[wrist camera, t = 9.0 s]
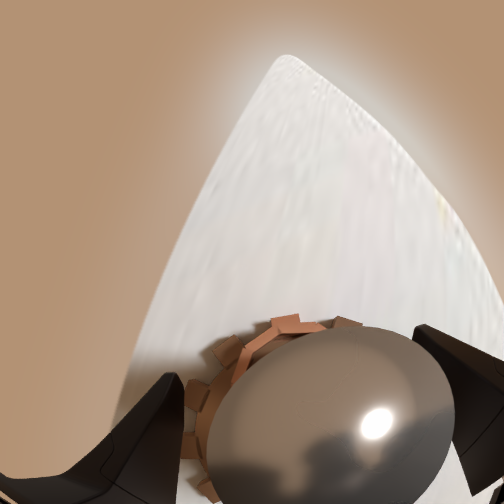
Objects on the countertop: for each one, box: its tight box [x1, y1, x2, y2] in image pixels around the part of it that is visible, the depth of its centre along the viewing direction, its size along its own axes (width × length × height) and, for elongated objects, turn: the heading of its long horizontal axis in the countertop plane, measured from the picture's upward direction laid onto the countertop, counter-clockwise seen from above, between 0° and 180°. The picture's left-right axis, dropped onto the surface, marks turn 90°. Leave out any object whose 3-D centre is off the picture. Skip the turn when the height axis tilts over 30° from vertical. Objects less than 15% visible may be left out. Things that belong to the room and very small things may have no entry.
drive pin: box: [206, 326, 455, 504], centre depth 9 cm, size 4×4×13 cm
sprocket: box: [180, 314, 363, 504], centre depth 14 cm, size 16×16×3 cm
